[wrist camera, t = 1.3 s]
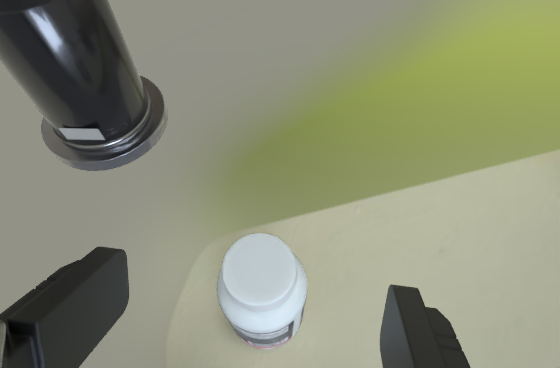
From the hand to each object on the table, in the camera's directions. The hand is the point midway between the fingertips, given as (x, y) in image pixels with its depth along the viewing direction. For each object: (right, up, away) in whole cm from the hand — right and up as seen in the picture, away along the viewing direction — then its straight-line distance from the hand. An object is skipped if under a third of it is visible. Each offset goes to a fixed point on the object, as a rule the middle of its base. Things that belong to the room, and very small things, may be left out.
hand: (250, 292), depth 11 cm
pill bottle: (0, -6, +17) cm, 18 cm away
